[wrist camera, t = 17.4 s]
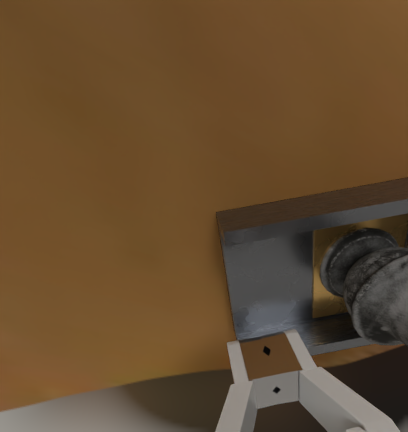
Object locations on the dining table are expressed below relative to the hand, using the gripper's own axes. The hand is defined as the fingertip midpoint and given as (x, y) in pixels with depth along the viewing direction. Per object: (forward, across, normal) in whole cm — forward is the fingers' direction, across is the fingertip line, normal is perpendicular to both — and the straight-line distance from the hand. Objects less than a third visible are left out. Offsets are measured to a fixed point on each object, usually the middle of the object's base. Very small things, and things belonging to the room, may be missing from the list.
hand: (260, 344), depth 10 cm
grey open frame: (+6, -6, +1) cm, 9 cm away
